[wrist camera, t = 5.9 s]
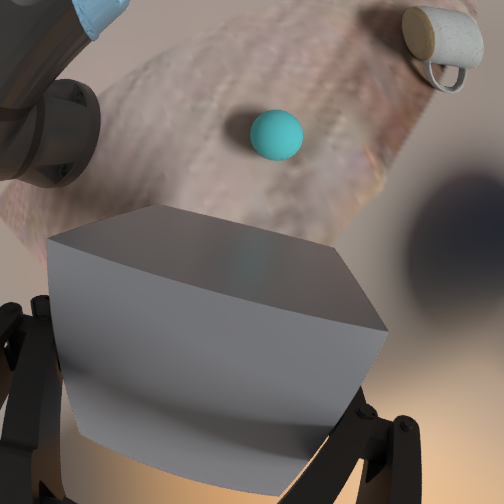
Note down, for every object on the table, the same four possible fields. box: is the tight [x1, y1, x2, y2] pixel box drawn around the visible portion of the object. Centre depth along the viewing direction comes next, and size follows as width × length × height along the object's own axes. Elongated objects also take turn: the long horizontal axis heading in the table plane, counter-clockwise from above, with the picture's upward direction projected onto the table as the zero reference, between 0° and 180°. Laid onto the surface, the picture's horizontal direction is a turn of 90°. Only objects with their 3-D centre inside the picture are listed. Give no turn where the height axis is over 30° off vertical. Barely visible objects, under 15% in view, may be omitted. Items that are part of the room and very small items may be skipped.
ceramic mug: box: [402, 6, 483, 93], centre depth 19 cm, size 11×8×8 cm
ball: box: [250, 110, 303, 161], centre depth 25 cm, size 5×5×5 cm
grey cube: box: [47, 204, 389, 497], centre depth 12 cm, size 10×10×9 cm
